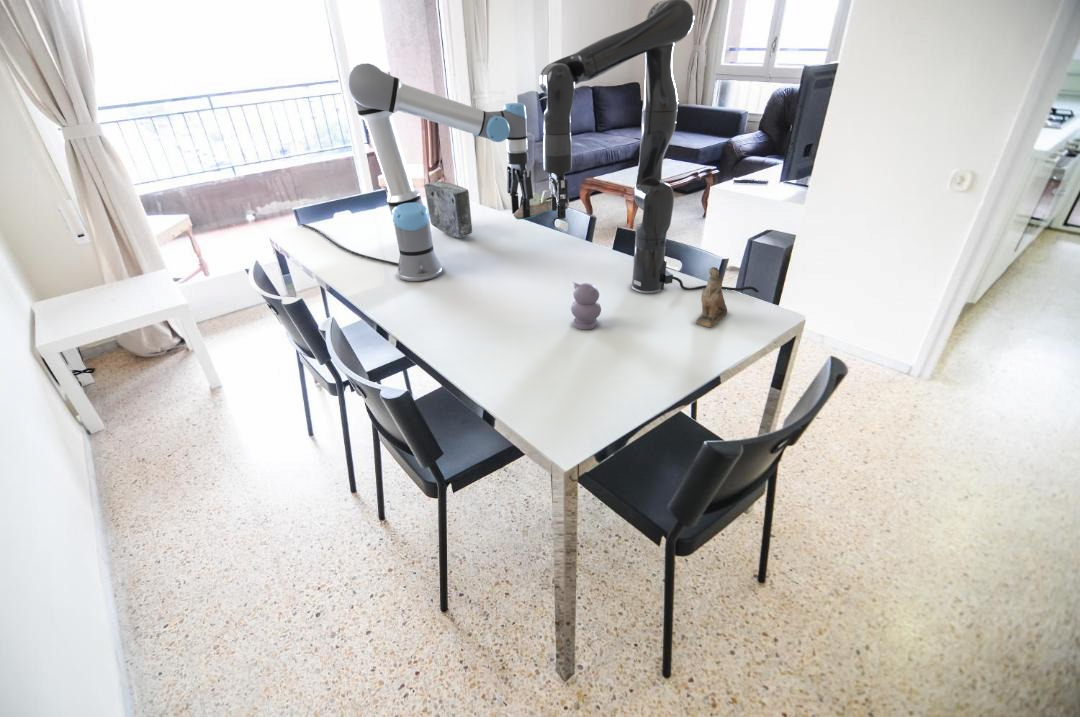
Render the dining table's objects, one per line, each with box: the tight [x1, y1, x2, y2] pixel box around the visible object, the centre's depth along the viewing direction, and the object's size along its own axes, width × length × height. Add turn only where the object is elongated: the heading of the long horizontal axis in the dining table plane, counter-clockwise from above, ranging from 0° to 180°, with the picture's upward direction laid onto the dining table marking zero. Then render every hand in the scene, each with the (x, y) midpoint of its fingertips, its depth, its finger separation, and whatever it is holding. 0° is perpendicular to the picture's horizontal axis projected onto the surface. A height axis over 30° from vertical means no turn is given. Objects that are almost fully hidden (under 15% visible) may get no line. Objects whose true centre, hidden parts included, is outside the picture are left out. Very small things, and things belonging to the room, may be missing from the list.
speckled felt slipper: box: [513, 190, 570, 220], centre depth 193 cm, size 8×25×8 cm, turn 124°
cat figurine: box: [570, 281, 602, 331], centre depth 136 cm, size 8×8×12 cm
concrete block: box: [424, 180, 473, 238], centre depth 209 cm, size 27×9×20 cm, turn 36°
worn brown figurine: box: [695, 266, 728, 328], centre depth 135 cm, size 12×6×18 cm, turn 136°
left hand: (521, 215), depth 190 cm, fingers closed on speckled felt slipper, 7 cm apart
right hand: (558, 214), depth 138 cm, fingers open, 8 cm apart
